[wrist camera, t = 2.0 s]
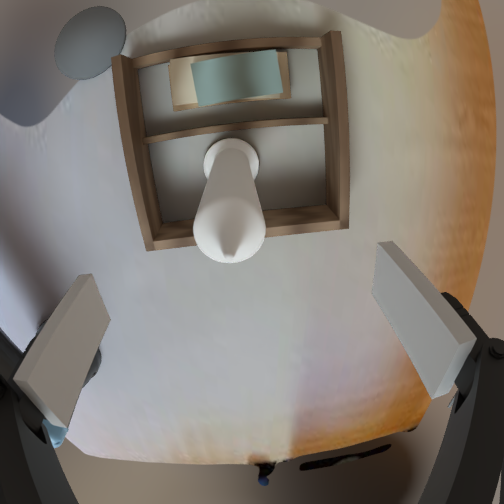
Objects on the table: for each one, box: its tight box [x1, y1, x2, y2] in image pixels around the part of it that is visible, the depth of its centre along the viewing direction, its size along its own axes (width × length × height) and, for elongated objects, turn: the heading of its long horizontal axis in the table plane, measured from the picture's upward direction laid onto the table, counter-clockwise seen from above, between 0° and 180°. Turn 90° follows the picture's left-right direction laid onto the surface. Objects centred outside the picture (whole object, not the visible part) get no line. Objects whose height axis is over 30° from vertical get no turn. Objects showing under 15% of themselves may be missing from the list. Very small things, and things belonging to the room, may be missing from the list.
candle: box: [193, 138, 266, 263], centre depth 27 cm, size 7×7×25 cm
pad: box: [55, 6, 126, 80], centre depth 28 cm, size 11×11×1 cm
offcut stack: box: [168, 49, 291, 111], centre depth 30 cm, size 14×6×6 cm, turn 95°
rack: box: [111, 31, 350, 251], centre depth 33 cm, size 25×24×6 cm
